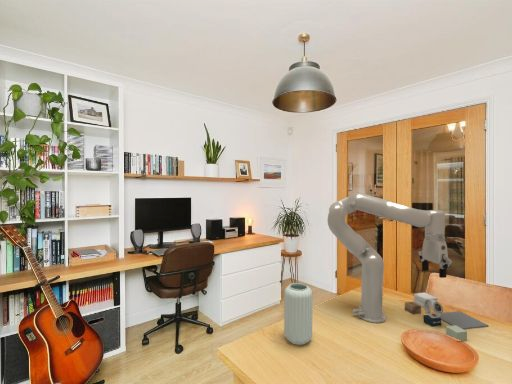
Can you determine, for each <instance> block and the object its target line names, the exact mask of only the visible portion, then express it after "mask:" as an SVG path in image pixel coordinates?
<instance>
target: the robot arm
mask: <svg viewBox="0 0 512 384" xmlns="http://www.w3.org/2000/svg"><path fill="white" fill-rule="evenodd" d="M356 211H360V212H364V213H368V214H371V215H374V216H377V217H380V218H385V219H386V220H393V221H396V222H400V223H404V224H406V225H410V226H414V227H416V228H424V238H423V244H422V250H420V251H419V250H418V255H419V257H418V258H419V259H420V262H421V271H422V272H426V271H427V272H428V271H429V269H430V265H429V264H430V262H432V263H434V264H437V265H439V267H440V268H438V277H439V278H441V279H442V278H443V279H444V278H447V273H448V272H447V271H448V269H449V268H450V267H451V265H452V262H453V261H452V259H450V258H449V254H448V245H447V241H445V240H446V237H445V227H446V225H445V224H446V223H445V222H446V221H445V220H446V218H445V217H446V214H445V211H443V210H438V209H436V210H435V209H430V210H428V209H427V210H425V209H417V208H415V207H414V208H413V207H410V206H406V205H402V204H399V203H397V202H394V201H391V200H388V199H384V198H381V197H377V196H373V195H369V194H366V193H362V192H355V193H354V192H353V193H352V194H351V195H350V194H349V195H347V196H346V197H343V198H342V199H340V200H338V201H335V202H334V203H332V204H330V207H329V208H328V215H327V225H328V228H329V230H330V232H331V233H332V234H333V235H334V236H335V238H336V239H337V240H338V241H339V242H340V243H341V244H342V245H343V246H344V247H345V248H346V250H347V252H349V253H350V254H352V255H354V257H355V258H357V259H358V260H359V262H360V263H361V276H360V277H361V282H360V283H361V291H360V293H361V295H360V296H361V297H360V301H361V302H360V305H358V308H353V309H351V313H352V314H357V316H358V318H360V319H361V320H364V321H366V322H369V323H373V324H375V323H376V324H377V323H379V324H380V323H381V324H382V323H384V322H385V321H386V320H387V319H386V318H387V316H386V314H384V313H383V301H384V299H383V296H384V295H383V294H384V293H383V292H384V291H383V289H384V288H383V286H384V281H383V280H384V271H385V264H384V260H383V258H382V256H381V254H379V253H378V252H377V250H376V249H374V248H373V247H372V246H371V245H370V243H368V241H366V240H365V239H364V237H363V236H362V235H361V234H360V233H357V232H355V230H354V229H353V228H352V227H351V226H350V225H349V224H348V223H347V221H346V217H347V215H349V214H352V213H354V212H356Z"/></svg>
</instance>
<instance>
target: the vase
mask: <svg viewBox="0 0 512 384" xmlns="http://www.w3.org/2000/svg"><path fill="white" fill-rule="evenodd" d="M283 295H284V298H283V299H284V300H283V301H284V307H283V311H284V312H283V314H284V315H283V318H284V319H283V321H284V322H283V323H284V324H283V328H284V329H283V334H284V336H285V338H286V340H287V341H289V342H290V343H291V344H293V345H298V346H299V345H300V346H301V345H305V344H307V343H309V342H310V341H311V339H312V338H313V291H312V289H311V288H310V286H308V284H305V283H301V282H292V283H290V284H289V285H287V286H286V287H285V289H284V293H283Z"/></svg>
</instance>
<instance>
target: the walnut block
mask: <svg viewBox="0 0 512 384" xmlns="http://www.w3.org/2000/svg"><path fill="white" fill-rule="evenodd" d="M404 311H406V312H408V313H410V314H412V315H417V314H419V315H421V313H422V306H420V305H419V304H417V303H415V302H414V301H406V302H404Z"/></svg>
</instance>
